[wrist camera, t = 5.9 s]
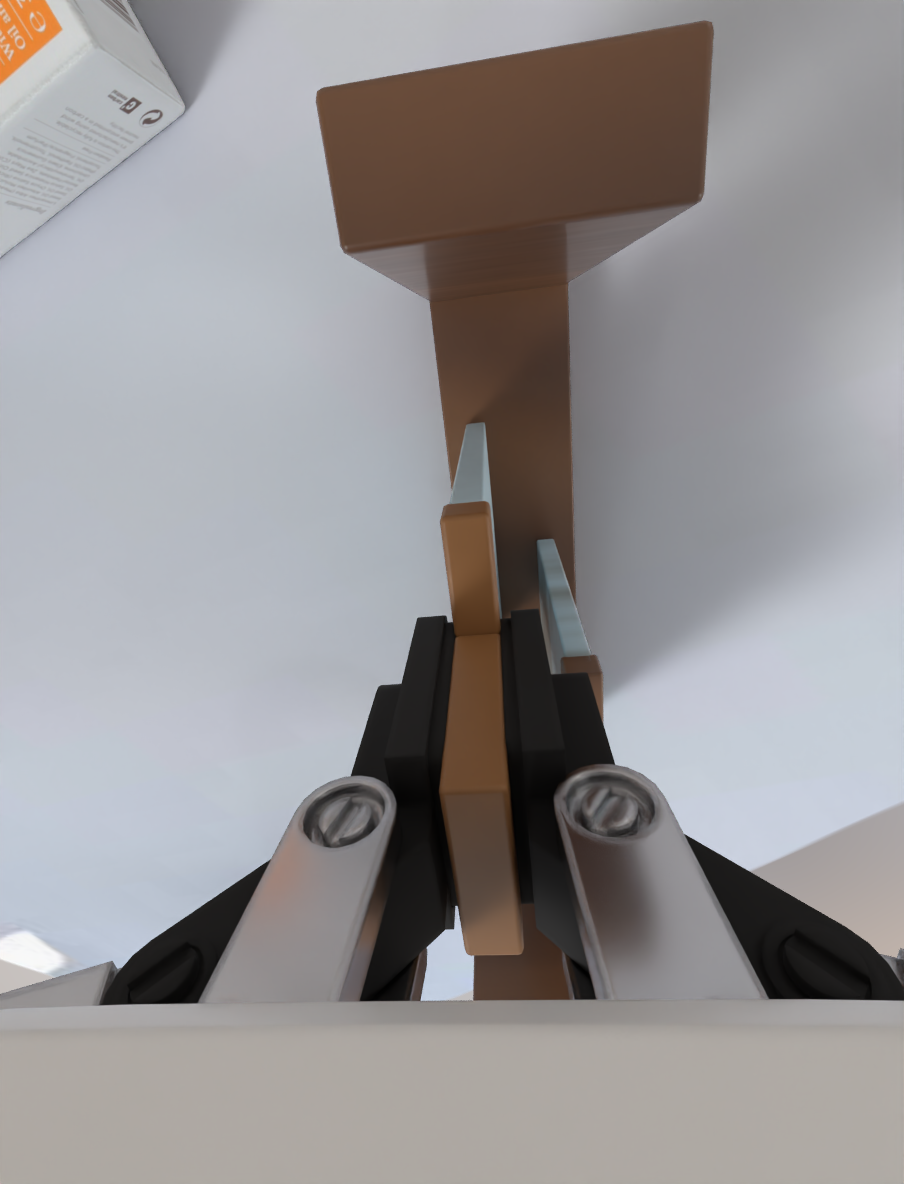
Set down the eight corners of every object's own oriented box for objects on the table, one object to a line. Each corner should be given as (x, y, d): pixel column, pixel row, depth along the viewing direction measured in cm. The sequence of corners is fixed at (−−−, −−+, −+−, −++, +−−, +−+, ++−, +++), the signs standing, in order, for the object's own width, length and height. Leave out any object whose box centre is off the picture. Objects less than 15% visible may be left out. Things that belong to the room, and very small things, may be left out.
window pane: (462, 424, 18) (410, 628, 5) (487, 421, 17) (492, 622, 5) (483, 624, 21) (479, 1046, 8) (505, 623, 20) (533, 1045, 8)
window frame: (427, 250, 17) (310, 85, 6) (560, 230, 17) (718, 14, 5) (482, 724, 24) (479, 1062, 13) (574, 719, 24) (653, 1062, 13)
